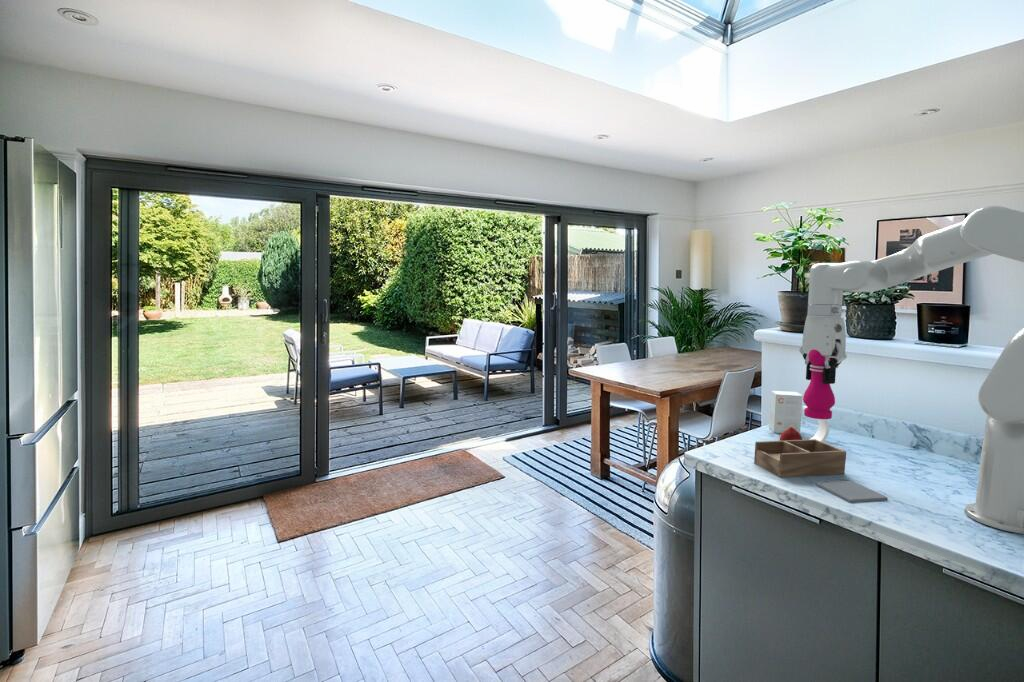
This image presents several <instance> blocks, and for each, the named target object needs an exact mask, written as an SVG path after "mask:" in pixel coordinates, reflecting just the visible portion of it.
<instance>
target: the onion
mask: <svg viewBox="0 0 1024 682" xmlns="http://www.w3.org/2000/svg"><path fill="white" fill-rule="evenodd" d="M784 440H803V437H802V435H801V433H800V434H799V432H798V431H796V430H795V429H794V428H793V426H790V427H789V429H787V430H785V431H784V432H782V433H780V436H779V441H784Z"/></svg>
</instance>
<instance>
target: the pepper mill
mask: <svg viewBox="0 0 1024 682" xmlns="http://www.w3.org/2000/svg"><path fill="white" fill-rule="evenodd" d="M831 356H833V354H832V355H831ZM808 359H809V361H810V362H811V363H812V365H810V370H811V374H812V375H811V380H809V384H808V386H807V388H806V389H805V391H804V393H803V395H802V396H803V399H802V403H803V404H804V406H807V408H805V409H803V410H804V411H803V413H804V414H803V415H804V416H805V417H807V418H810V419H815V420H818V419H827V420H831V419H832V418H833V411H832V410H831V409H832V408H833V407H834V406H835V404H836V398H835V393H834V392H833V389H832V387H831V384H823V382H822V380H823V368H826V367H825V356H822V355H821V354H820V352H819V351H817V350H814V349H813V350H811V351H810V352H809V355H808ZM832 360H833V358H830V362H831V361H832Z"/></svg>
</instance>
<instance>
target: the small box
mask: <svg viewBox="0 0 1024 682" xmlns="http://www.w3.org/2000/svg"><path fill="white" fill-rule="evenodd" d="M770 391H771V393H770V407H769V421H768V422H769V423H768V424H769V425H768V428H769V430H770V431H771V432H772V433H774V434H782V432H784V431H785V430H787V429H789V427H790V426H793V428H794V429H795V430H796V431H798V432H799V434H800V435H801V428H802V427H801V426H802V424H801V423H802V413H803V412H802V411H803V409H802V406H803V396H804V395H803V394H801V393H799V392H797V391H786V390H785V391H784V390H783V391H780V390H770Z"/></svg>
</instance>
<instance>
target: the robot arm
mask: <svg viewBox="0 0 1024 682" xmlns="http://www.w3.org/2000/svg"><path fill="white" fill-rule="evenodd" d="M991 255H996V256H998V257H999V256H1000V257H1003V258H1007V259H1011V260H1014V261H1018V262H1021V263H1024V211H1020V210H1016V209H1012V208H1008V207H1004V206H1001V205H1000V206H999V205H992V206H991V205H989V206H984V207H980V208H978V209H976V210H974V211H973V212H971V213H969V215H967V216H966V217H965V218H964V220H963V221H960V222H957V223H955V224H952V225H949V226H946V227H944V228H941V229H938V230H934V231H933V232H929V233H926V234H924V235H921V236H920V237H918V238H917V239H916V240H915V241H914V242H913V243H912V244H911V245H909V246H908V247H906V248H904V249H903V250H901V251H898V252H896V253H893V254H891V255H887V256H885V257H881V258H879V259H876V260H871V261H868V260H864V261H863V260H851V261H847V262H821V263H820V262H819V263H815V264H812V266H810V269H809V284H808V285H809V286H808V300H807V313H806V314H807V316H806V319H805V321H804V328H803V332H802V333H803V335H802V344H801V345H802V346H801V347H800V348H799V351H798V352H799V353H800V354H801V355H802V358H803V360H804V364H805V365H806V367H805V368H806V370H805V380H806V381H811V375H812V374H811V370H810V365H812V363H811V362H810V361H809V359H808V355H809V352H810V351H811V350H813V349H814V350H817V351H819V352H820V354H821V355H822V356H825V367H826V368H823V380H822V382H823V384H830V385H833V384H835V383H836V375H837V374H836V373H837V371H836V370H837V369H838V368H839V366H840V364H841V363H842V362H843V361H845V360H846V359H847V357H848V356H847V354H846V346H847V339H846V337H847V335H846V334H847V333H846V324H845V318H844V317H842V313H843V312H844V309H843V299H844V292H850V293H874V292H877V291H882V290H884V289H889V288H891V287H894V286H898V285H901V284H904V283H907V282H911V281H913V280H916V279H919V278H921V277H925V276H929V275H932V274H934V273H935V272H936V273H937V272H940V271H942V270H946V269H948V268H951V267H956V266H958V265H962V264H964V263H968V262H972V261H974V260H977V259H980V258H981V259H982V258H984V257H987V256H988V257H989V256H991ZM832 354H833V356H831V355H832ZM830 358H833V360H832V361H831V362H830ZM977 398H978V403H979V406H980V408H981V409H982V411H983V413H985V414H986V420H985V425H984V432H983V437H982V439H983V440H982V445H981V446H982V447H981V453H980V454H981V455H980V461H979V468H978V469H979V470H978V472H979V473H978V480H977V485H976V486H977V487H976V496H975V503H969V504H967V505H965V506H964V513H965V515H967V516H968V517H969V518H970V519H972V520H974V521H976V522H978V523H981V524H983V525H986V526H989V527H992V528H993V529H994V528H995V529H997V530H1001V531H1004V532H1005V531H1006V532H1010V533H1016V534H1021V535H1024V327H1022V328H1021V329H1019V330H1018V331H1017V332H1015V333H1014V335H1013V336H1012V337H1011V338H1010V339H1009V341H1007V344H1006V345H1005V347H1004V348H1003V349H1002V352H1001V353H1000V355H999V356H998V358H997V360H996V361H995V363H994V365H993V366H992V368H991V370H990V371H989V373H988V374H987V376H986V378H985V380H984V381H983V382H982V385H981V386H980V389H979V391H978V397H977Z"/></svg>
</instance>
